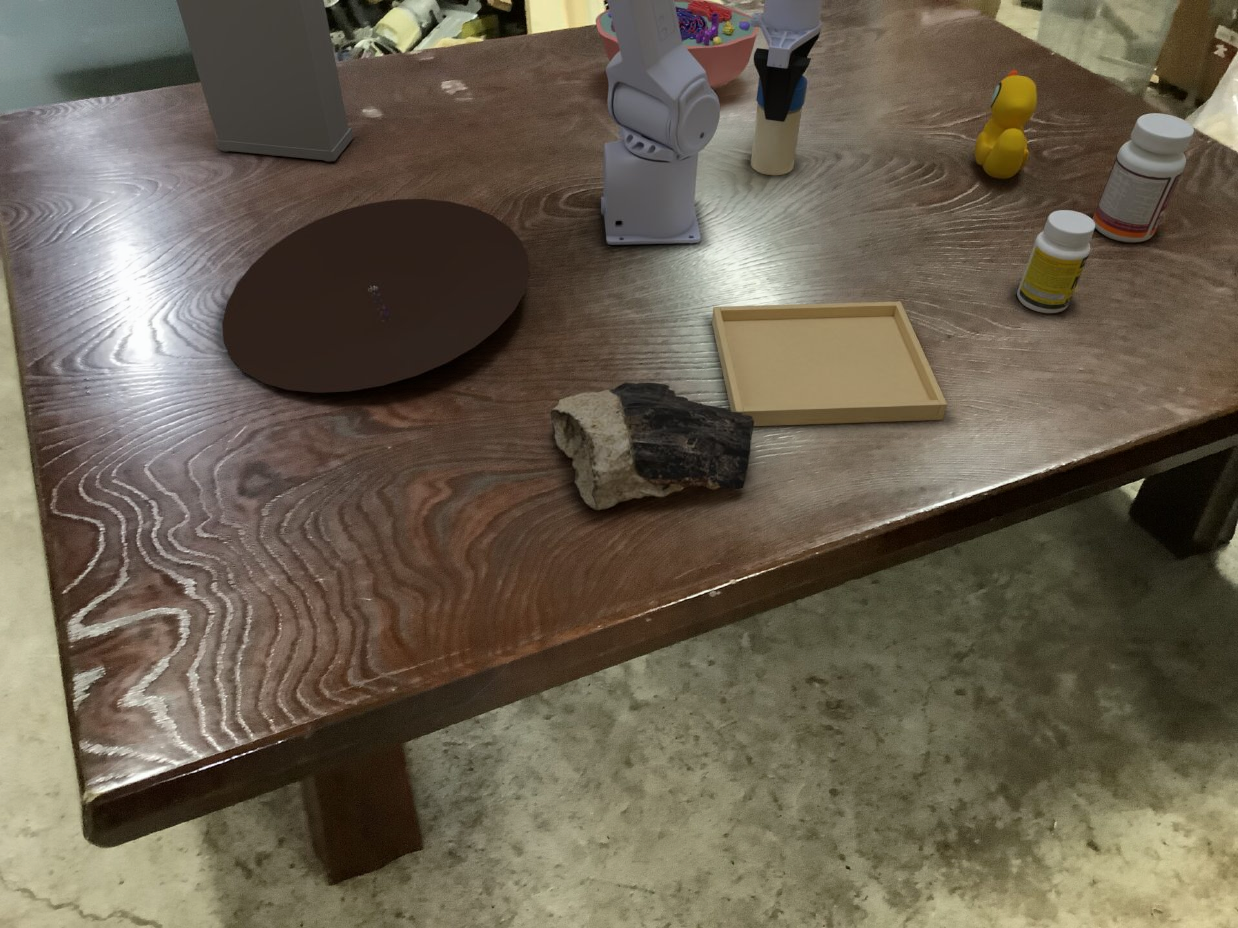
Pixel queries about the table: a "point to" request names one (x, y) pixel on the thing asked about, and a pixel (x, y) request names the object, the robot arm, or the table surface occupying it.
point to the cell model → (703, 37)
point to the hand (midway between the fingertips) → (779, 108)
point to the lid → (797, 97)
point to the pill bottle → (1143, 178)
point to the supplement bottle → (1056, 262)
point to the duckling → (1007, 127)
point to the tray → (825, 364)
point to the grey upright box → (268, 76)
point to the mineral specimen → (649, 443)
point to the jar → (775, 143)
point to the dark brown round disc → (374, 295)
